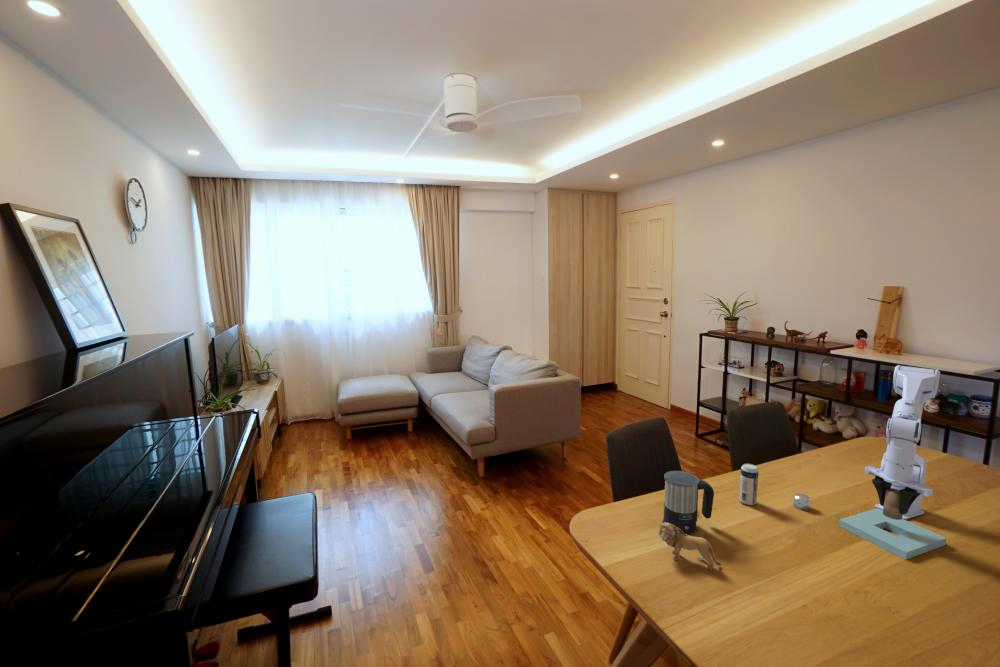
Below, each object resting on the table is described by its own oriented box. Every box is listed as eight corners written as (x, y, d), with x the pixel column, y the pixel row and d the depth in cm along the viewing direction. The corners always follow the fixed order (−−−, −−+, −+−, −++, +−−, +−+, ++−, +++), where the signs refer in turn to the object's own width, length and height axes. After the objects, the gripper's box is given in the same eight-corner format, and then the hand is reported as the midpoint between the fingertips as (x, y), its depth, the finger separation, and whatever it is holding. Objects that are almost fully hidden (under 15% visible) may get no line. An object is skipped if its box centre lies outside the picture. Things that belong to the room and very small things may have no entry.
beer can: (758, 507, 137) (761, 470, 135) (741, 505, 138) (744, 469, 136) (752, 499, 142) (755, 463, 140) (736, 497, 143) (739, 462, 141)
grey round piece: (799, 502, 140) (800, 492, 139) (811, 509, 136) (813, 498, 135) (790, 505, 138) (791, 494, 138) (802, 511, 134) (803, 500, 134)
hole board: (876, 514, 133) (877, 508, 132) (945, 544, 118) (946, 538, 117) (838, 525, 127) (839, 519, 126) (905, 559, 112) (906, 552, 112)
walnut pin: (888, 510, 124) (891, 487, 123) (905, 518, 120) (908, 493, 119) (879, 513, 123) (882, 489, 122) (896, 520, 119) (899, 496, 118)
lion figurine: (657, 560, 112) (659, 527, 111) (657, 548, 117) (659, 516, 116) (721, 573, 107) (724, 539, 106) (719, 560, 112) (721, 527, 111)
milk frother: (677, 538, 121) (680, 487, 119) (640, 509, 136) (642, 464, 134) (717, 527, 126) (720, 478, 124) (677, 501, 141) (679, 456, 139)
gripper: (859, 453, 125) (854, 498, 127) (923, 475, 111) (916, 526, 113) (876, 450, 127) (870, 494, 129) (940, 471, 114) (933, 520, 115)
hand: (893, 509), depth 121 cm, fingers closed on walnut pin, 4 cm apart
